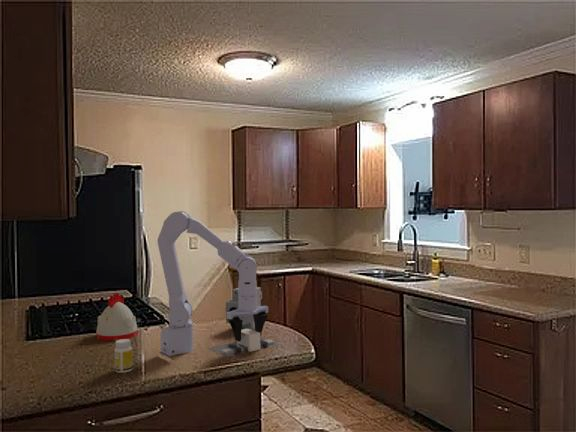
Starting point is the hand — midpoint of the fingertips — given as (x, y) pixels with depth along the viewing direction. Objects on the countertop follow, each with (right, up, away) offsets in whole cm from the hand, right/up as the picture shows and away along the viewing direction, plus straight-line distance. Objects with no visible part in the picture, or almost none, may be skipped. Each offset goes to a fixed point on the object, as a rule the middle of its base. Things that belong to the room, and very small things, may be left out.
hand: (248, 338), depth 164 cm
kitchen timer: (-48, -4, +22) cm, 53 cm away
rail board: (-2, -4, +2) cm, 5 cm away
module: (0, -3, 0) cm, 3 cm away
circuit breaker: (-4, -3, +25) cm, 26 cm away
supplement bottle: (-34, -5, -17) cm, 38 cm away
